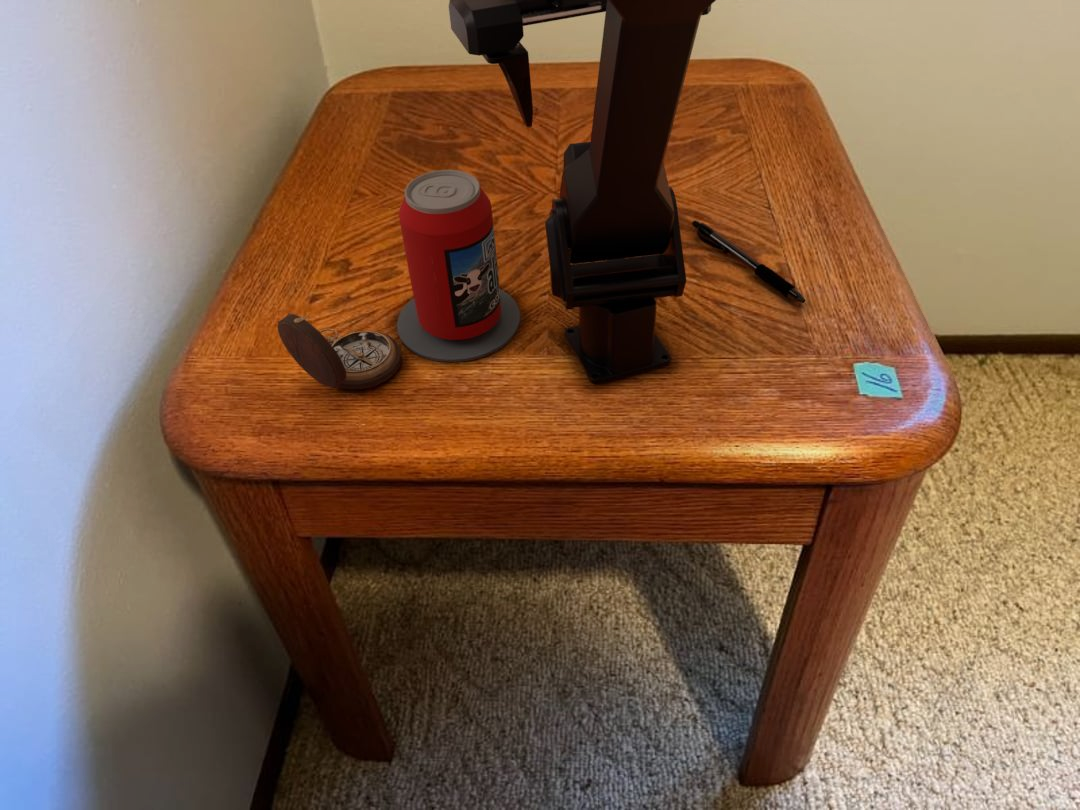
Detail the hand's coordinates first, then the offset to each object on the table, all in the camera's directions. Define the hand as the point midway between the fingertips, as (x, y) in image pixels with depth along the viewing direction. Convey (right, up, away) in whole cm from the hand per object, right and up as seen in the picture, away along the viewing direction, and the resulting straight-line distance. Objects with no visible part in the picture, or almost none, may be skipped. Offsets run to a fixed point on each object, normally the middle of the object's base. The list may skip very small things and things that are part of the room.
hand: (582, 114), depth 68 cm
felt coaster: (-10, -17, +1) cm, 19 cm away
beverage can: (-10, -17, +1) cm, 19 cm away
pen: (+14, -12, +4) cm, 19 cm away
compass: (-18, -20, -2) cm, 28 cm away
